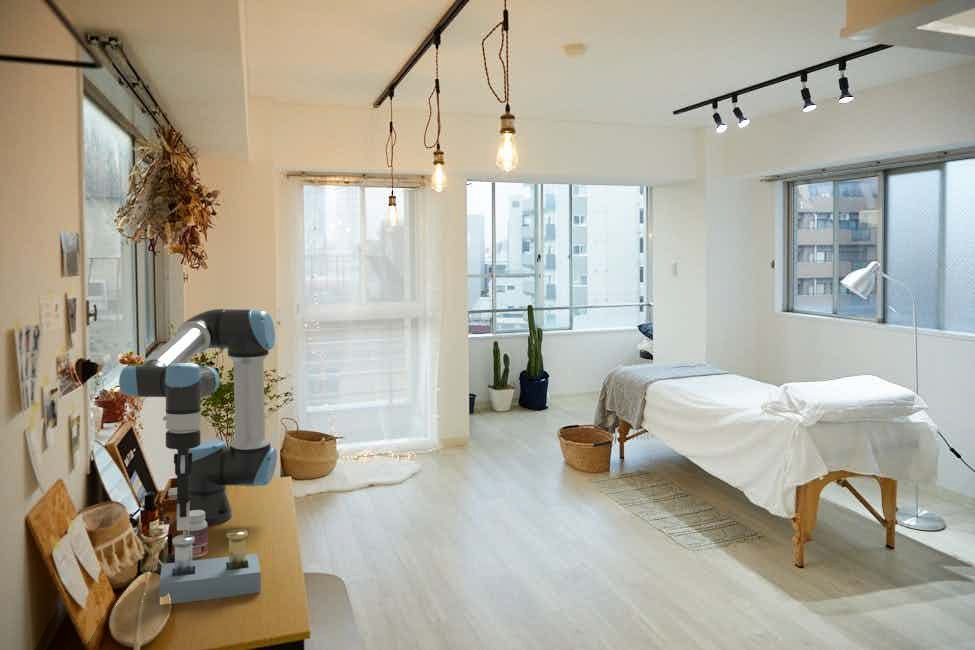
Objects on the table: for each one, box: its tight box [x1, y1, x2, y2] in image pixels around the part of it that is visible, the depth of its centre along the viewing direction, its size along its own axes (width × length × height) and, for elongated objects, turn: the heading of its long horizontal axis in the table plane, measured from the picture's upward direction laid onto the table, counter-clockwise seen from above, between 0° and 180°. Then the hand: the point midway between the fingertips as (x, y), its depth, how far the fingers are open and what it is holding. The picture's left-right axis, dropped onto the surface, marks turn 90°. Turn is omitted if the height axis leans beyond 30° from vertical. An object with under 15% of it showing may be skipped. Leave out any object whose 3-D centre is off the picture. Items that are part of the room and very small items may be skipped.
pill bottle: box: [182, 510, 209, 559], centre depth 195 cm, size 6×6×11 cm
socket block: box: [158, 553, 262, 605], centre depth 175 cm, size 12×22×5 cm, turn 111°
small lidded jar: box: [172, 534, 195, 576], centre depth 172 cm, size 5×5×8 cm
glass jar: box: [226, 528, 249, 570], centre depth 176 cm, size 5×5×8 cm
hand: (183, 529), depth 171 cm, fingers closed
